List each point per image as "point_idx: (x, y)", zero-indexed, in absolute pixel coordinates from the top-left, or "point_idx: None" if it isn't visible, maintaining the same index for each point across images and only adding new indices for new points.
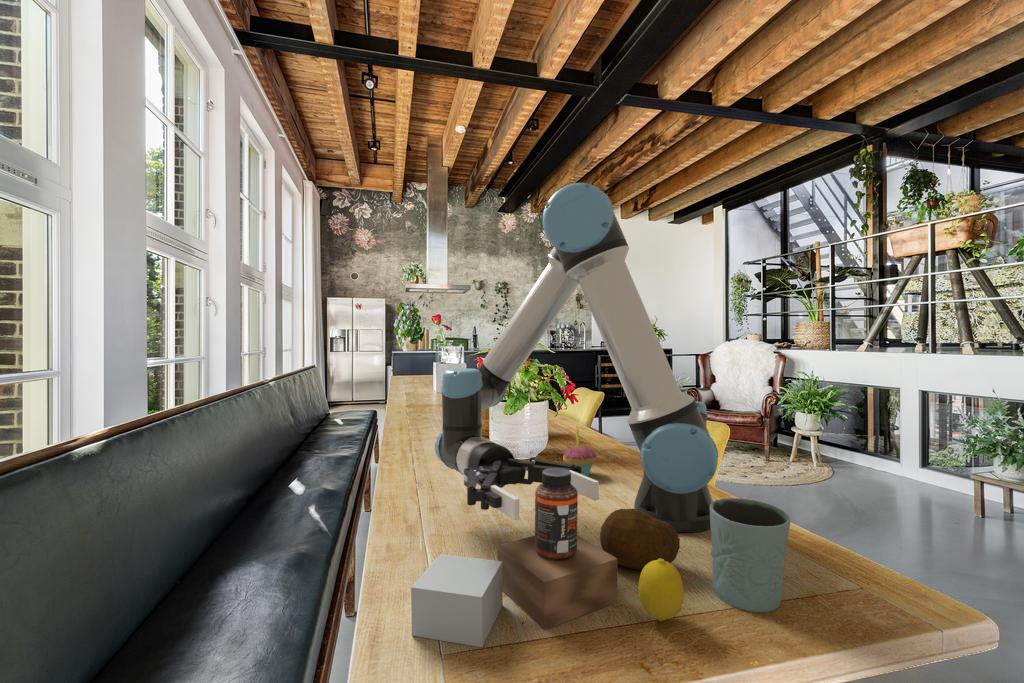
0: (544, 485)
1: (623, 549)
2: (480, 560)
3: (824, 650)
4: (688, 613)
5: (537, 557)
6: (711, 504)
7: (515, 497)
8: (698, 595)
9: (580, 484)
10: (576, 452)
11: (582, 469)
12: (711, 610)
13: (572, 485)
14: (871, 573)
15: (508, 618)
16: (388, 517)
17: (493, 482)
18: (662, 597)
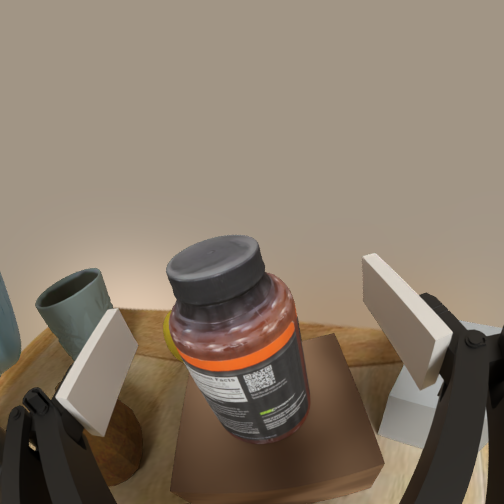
0: (266, 277)
1: (134, 416)
2: (430, 401)
3: (146, 310)
4: (169, 361)
5: (314, 398)
6: (61, 301)
7: (370, 260)
8: (133, 375)
9: (107, 365)
10: None
11: None
12: (149, 357)
13: (102, 405)
14: (40, 340)
15: (375, 405)
16: None
17: (437, 437)
18: None
